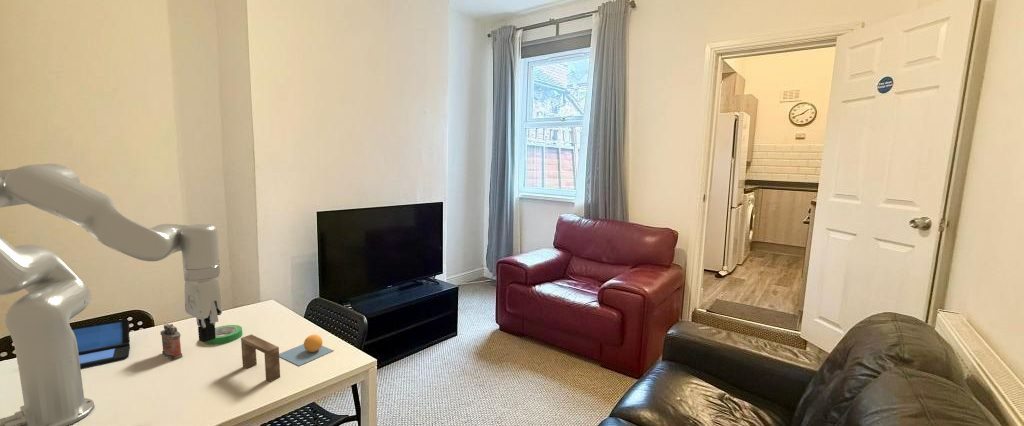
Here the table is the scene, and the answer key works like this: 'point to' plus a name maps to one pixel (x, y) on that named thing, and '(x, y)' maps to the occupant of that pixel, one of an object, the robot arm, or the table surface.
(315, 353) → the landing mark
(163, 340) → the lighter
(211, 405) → the table surface
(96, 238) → the robot arm
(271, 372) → the bridge
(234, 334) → the tape roll
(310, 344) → the ball
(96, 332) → the handheld game console
